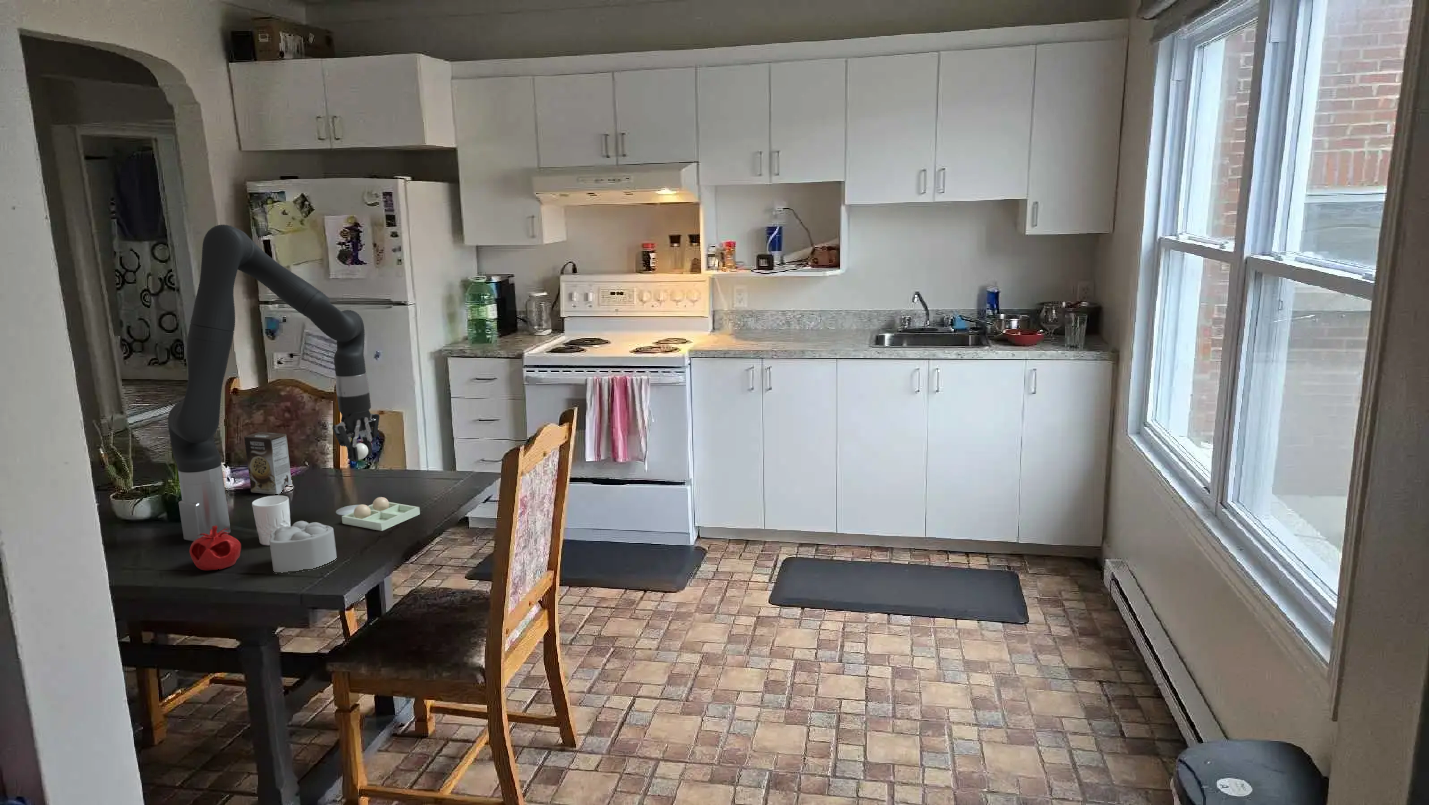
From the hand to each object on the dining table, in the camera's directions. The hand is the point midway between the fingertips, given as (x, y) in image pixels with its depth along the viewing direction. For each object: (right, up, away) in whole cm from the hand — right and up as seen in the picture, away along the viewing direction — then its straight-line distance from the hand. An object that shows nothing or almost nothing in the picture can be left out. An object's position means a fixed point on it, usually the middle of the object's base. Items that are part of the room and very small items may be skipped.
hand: (360, 458), depth 232 cm
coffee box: (-35, -11, +27) cm, 45 cm away
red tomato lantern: (-22, -23, -26) cm, 41 cm away
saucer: (-5, -15, +7) cm, 17 cm away
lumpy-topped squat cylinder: (-3, -22, -25) cm, 34 cm away
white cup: (-16, -19, -11) cm, 27 cm away
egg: (0, 0, 0) cm, 0 cm away
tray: (+5, -16, 0) cm, 17 cm away
